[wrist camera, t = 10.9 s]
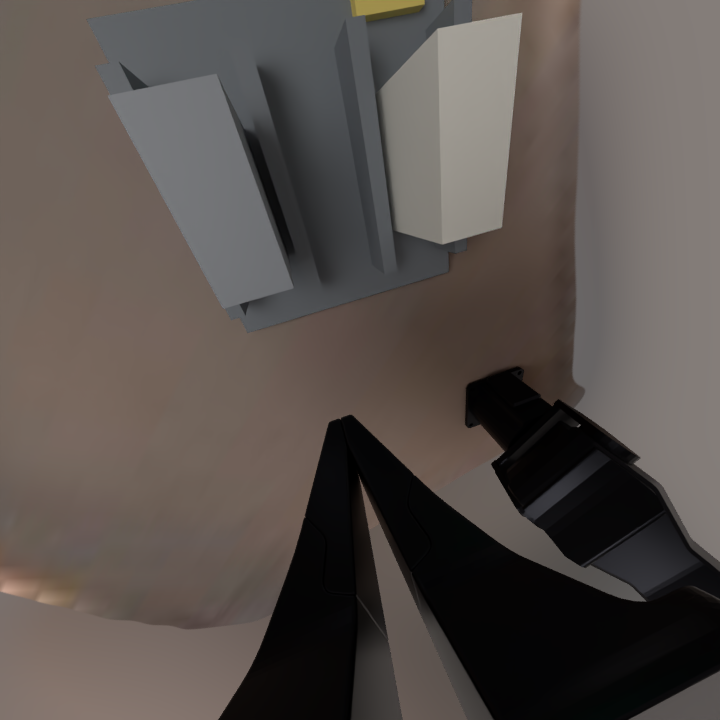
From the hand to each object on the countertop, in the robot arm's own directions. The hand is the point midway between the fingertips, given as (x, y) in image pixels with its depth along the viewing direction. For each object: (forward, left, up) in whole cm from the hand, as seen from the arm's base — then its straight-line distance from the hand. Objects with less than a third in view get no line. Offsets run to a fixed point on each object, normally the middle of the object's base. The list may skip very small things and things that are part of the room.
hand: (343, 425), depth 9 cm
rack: (+7, -3, -12) cm, 14 cm away
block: (+7, -8, -11) cm, 15 cm away
